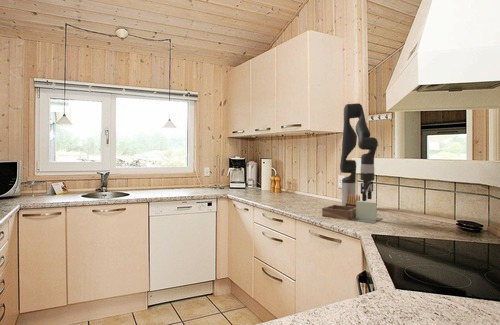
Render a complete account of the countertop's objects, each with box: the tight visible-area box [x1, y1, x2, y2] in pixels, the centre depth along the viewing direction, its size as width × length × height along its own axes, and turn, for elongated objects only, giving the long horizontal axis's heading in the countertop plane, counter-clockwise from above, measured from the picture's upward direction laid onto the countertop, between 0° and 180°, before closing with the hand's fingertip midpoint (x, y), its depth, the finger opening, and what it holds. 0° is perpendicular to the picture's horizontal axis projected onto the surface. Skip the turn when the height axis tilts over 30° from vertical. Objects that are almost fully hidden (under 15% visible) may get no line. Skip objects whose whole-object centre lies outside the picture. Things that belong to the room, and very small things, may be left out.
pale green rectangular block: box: [355, 200, 378, 221], centre depth 188 cm, size 2×11×10 cm, turn 51°
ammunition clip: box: [346, 193, 361, 207], centre depth 212 cm, size 11×2×12 cm, turn 37°
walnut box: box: [321, 204, 356, 221], centre depth 199 cm, size 16×16×5 cm
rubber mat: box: [350, 217, 383, 225], centre depth 188 cm, size 16×13×1 cm
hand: (366, 200), depth 188 cm, fingers open, 8 cm apart
